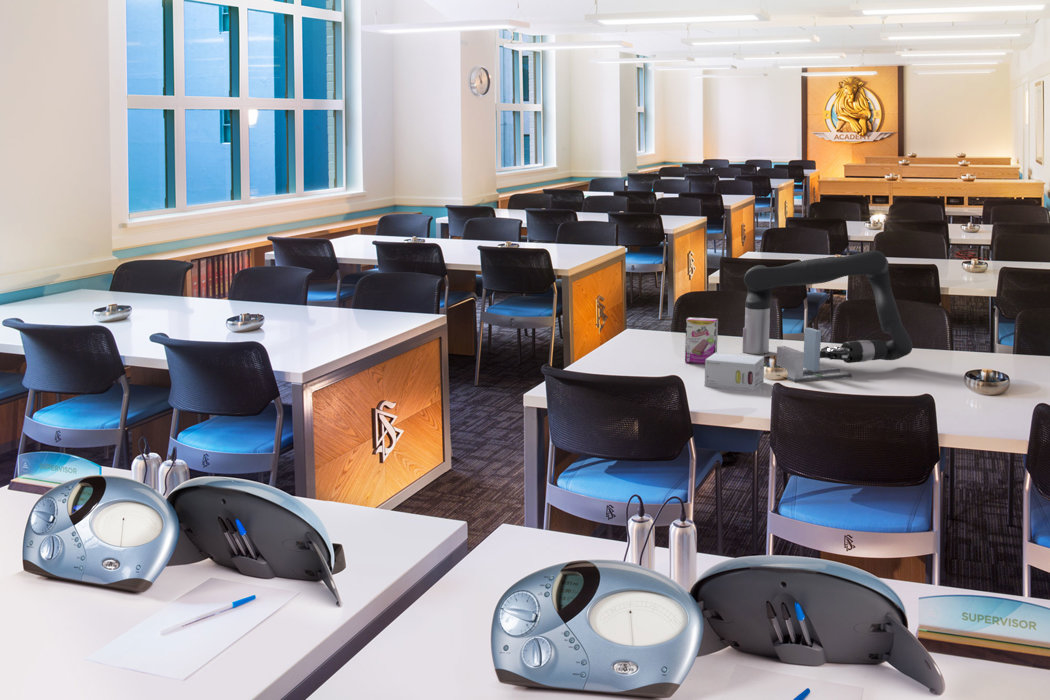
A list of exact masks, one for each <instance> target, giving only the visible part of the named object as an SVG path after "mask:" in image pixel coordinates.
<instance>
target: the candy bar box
mask: <svg viewBox="0 0 1050 700" xmlns="http://www.w3.org/2000/svg"><path fill="white" fill-rule="evenodd" d="M685 320H686V321H685V345H684V346H685V349H684V350H685V351H684V352H685V354H684V355H685V356H684V363H686V364H697V365H699V364H700V365H701V364H702V365H705V360H706V359H707V358H708V357H710V356H711V355H713V354H714V353H718V331H719V329H718V327H719V319H718V318H706V317H689V316H688V317H687V318H686V319H685Z"/></svg>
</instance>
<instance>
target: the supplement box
mask: <svg viewBox="0 0 1050 700" xmlns="http://www.w3.org/2000/svg"><path fill="white" fill-rule="evenodd" d="M704 365H705V366H704V387H708V388H709V387H712V388H722V389H733V390H742V391H743V390H744V391H752V392H754V391H755V390H757V389H758V388H759V387H760V386H762V384H764V380H765V379H764V375H765V374H764V373H765V371H764V370H765V356H762V355H760V356H759V355H746V354H735V353H726V352H724V353H723V352H717V353H714V354H713V355H711V356H710V357H708V358H707V359H706V360H705V364H704Z"/></svg>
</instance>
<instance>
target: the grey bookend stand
mask: <svg viewBox="0 0 1050 700" xmlns="http://www.w3.org/2000/svg"><path fill="white" fill-rule="evenodd" d="M803 357H804V351H801V350H798V349H794V348H792V347H789V346H786V345H782V346H781V345H780V346H776V365H777V366H780V367H782V368H785V369H786V370H787V372H788V374H787V379H786V380H788V381H790V382H793V383H800V382H801V383H802V382H812V381H811V380H814V381H820V380H819V379H825V380H833V379H834V378H836V379H844V378H843V377H847V378H853V377H852V373H850V372H847V371H844V370H841V368H840V367H833V366H832V367H830V366H829V367H820V368H819V371H818V372H820V373H823V375H821V374H818V373H816V372H814V371H811V370H808V369H806V368H803ZM834 380H835V379H834Z"/></svg>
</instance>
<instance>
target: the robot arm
mask: <svg viewBox="0 0 1050 700" xmlns="http://www.w3.org/2000/svg"><path fill="white" fill-rule="evenodd" d="M889 271H890V270H889V260H888V259H887V257H886V255H884V253H883V252H881V251H879V250H868V251H864V252H859V253H855V254H849V255H843V256H832V257H831V256H830V257H829V256H828V257H822V258H821V257H820V258H819V257H818V258H810V259H804V260H800V261H795V262H792V263H789V264H786V265H782V266H781V265H780V266H771V267H770V266H769V267H767V266H766V265H764V264H763V265H762V264H758V265H754V266H753V267H751V268H749V269H748V270H746V273H745V274H744V277H743V283H744V285H745V286H746V288H747V292H746V293H747V294H746V300H745V304H744V305H745V306H744V309H745V311H744V313H745V314H744V327H743V328H742V353H746V354H753V355H763V354H764V353H765V354H768V353H769V352H770V351H769V350H770V349H769V348H770V323H771V322H770V321H771V319H770V317H771V302H772V293H773V288H777V287H784V286H785V287H786V286H806V285H808V286H809V285H816V284H825V283H829V282H832V281H836V280H838V279H840V278H844V277H848V276H849V277H850V276H866V278H867V280H868V281H869V283H870V286H871V288H872V291H873V294H874V295H873V296H874V301H875V306H876V313H877V316H878V321H879V323H880V324H879V325H880V328H881V331H882V332H883V333H884V334H889V335H890V336H891V338H892V339H891V340H888V341H883V340H881V339H872V340H871V339H870V340H866V339H865V340H863V339H862V340H852V341H851V340H849V341H845V342H843V343H842V344H841V345H840V346H834V347H829V346H827V345H826V346H824V347H823V348H820V359H826V360H828V359H829V360H833V361H834V360H837V361H843V362H844V363H846V364H853V363H854V364H855V363H864V362H869V361H878V360H884V361H895V360H899V359H902V358H904V357H905V356H908V355H909V354H911V352H912V350H913V342H912V339H911V337H910V335H909V333H908V332H907V330H906V328H905V327H904V325H903V323H902V319H901V315H900V311H899V309H898V306H897V302H896V299H895V297H894V294H893V290H892V285H891V279H890V272H889Z"/></svg>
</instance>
